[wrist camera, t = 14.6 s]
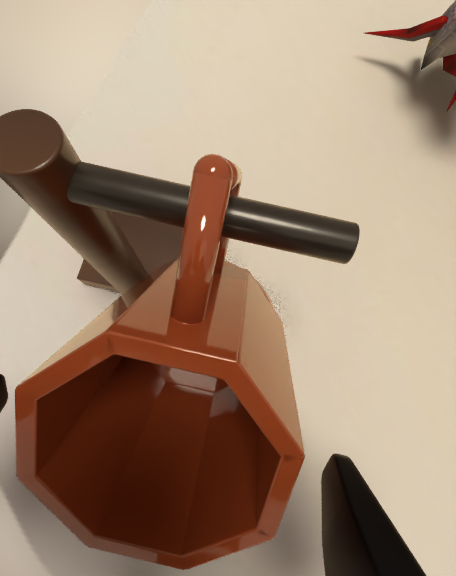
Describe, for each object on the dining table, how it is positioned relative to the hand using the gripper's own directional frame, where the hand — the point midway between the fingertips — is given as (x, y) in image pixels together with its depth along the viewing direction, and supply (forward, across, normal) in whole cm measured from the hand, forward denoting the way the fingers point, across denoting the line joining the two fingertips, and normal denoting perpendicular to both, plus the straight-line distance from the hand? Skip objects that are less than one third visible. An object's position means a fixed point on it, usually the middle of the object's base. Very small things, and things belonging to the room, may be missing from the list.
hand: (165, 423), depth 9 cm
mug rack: (+14, +2, +2) cm, 14 cm away
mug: (+7, 0, 0) cm, 7 cm away
